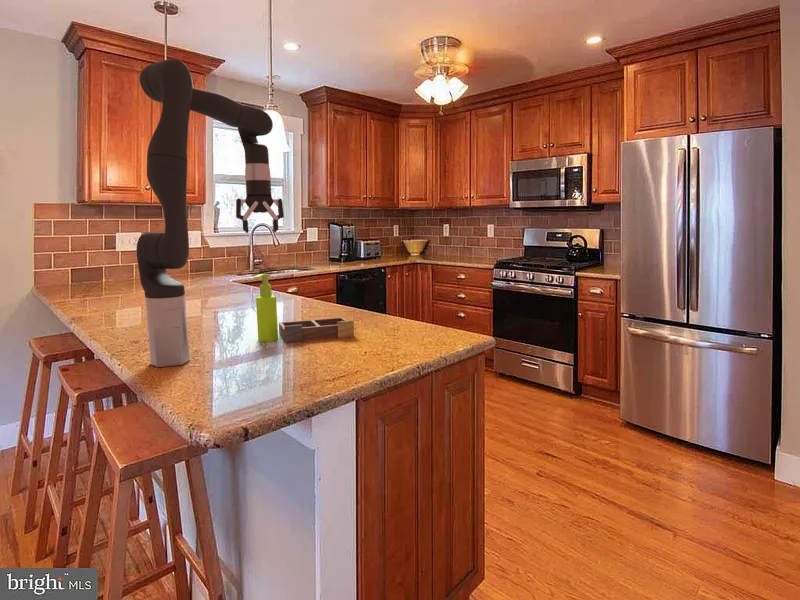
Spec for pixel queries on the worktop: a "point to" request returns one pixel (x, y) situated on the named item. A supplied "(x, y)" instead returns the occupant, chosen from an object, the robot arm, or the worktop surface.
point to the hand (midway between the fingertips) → (261, 232)
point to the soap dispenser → (266, 311)
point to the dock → (316, 329)
